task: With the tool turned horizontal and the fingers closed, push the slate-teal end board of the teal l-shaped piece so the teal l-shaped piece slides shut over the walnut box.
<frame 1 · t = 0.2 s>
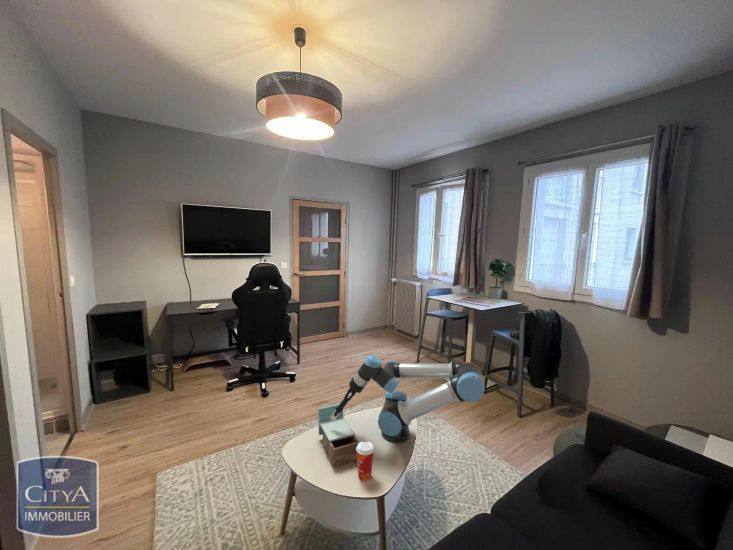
hand: (336, 412, 156), 15 cm above the table, tool tilted 35°, fingers open, 13 cm apart
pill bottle: (364, 476, 132), on the table
walnut box: (340, 453, 147), on the table
teal l-shaped piece: (336, 427, 152), point 10 cm above the table, slide at 5.7 cm
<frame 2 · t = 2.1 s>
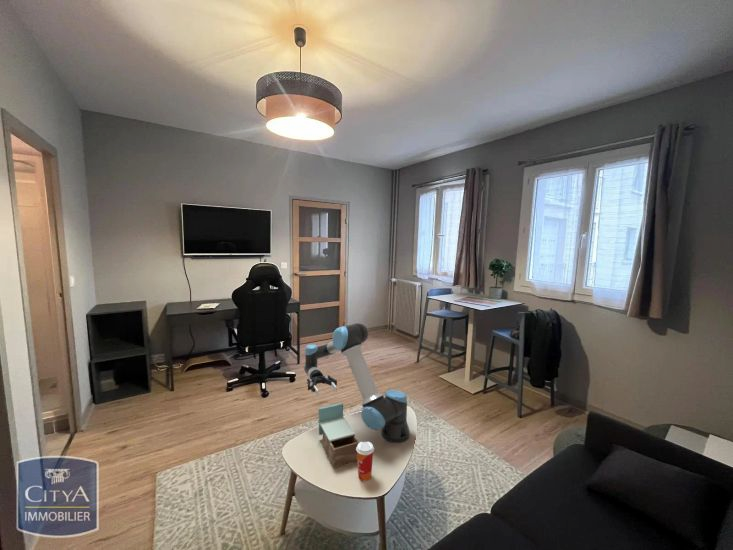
hand: (326, 391, 164), 22 cm above the table, tool horizontal, fingers open, 10 cm apart
nothing on the table moved.
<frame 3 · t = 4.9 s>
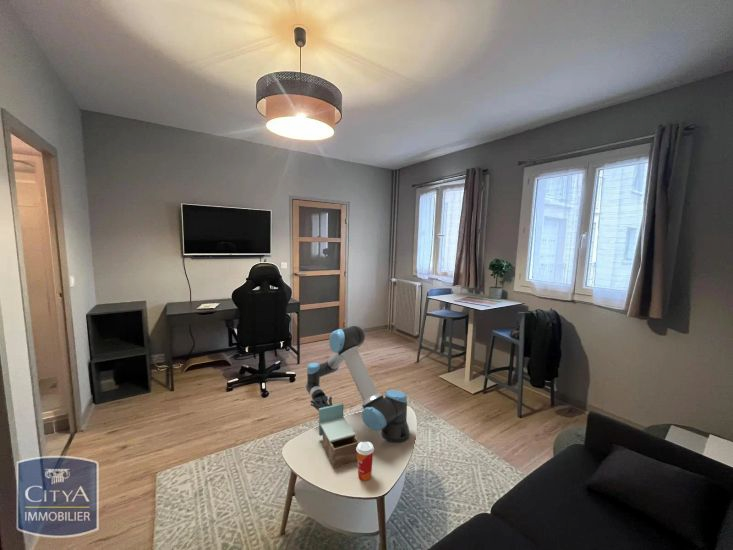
hand: (330, 414, 159), 12 cm above the table, tool horizontal, fingers closed
teal l-shaped piece: (336, 427, 151), point 10 cm above the table, slide at 5.2 cm, touching gripper
everything else where it was.
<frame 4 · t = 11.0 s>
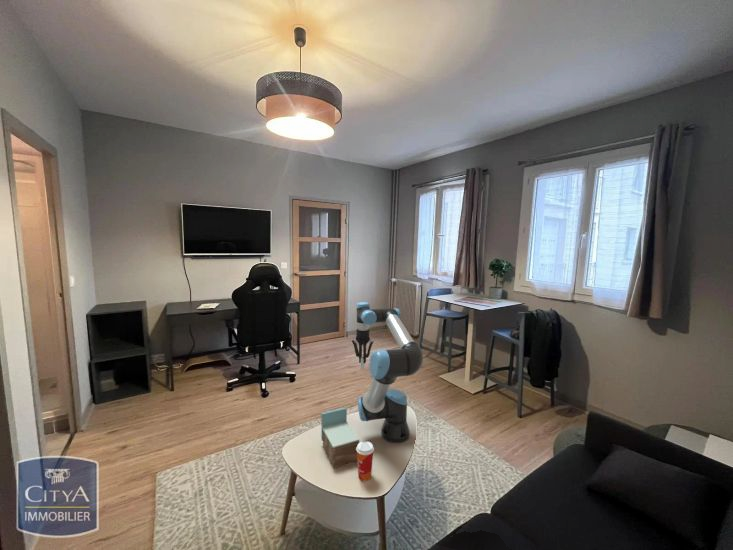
hand: (362, 368, 178), 29 cm above the table, tool pointing down, fingers closed
teal l-shaped piece: (339, 432, 147), point 10 cm above the table, slide at 0.7 cm
everything else where it was.
at the end: teal l-shaped piece slide at 0.7 cm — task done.
